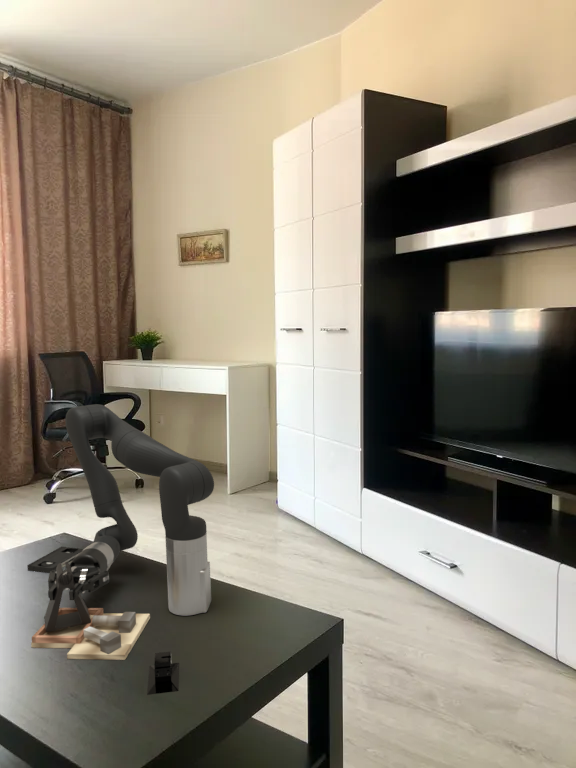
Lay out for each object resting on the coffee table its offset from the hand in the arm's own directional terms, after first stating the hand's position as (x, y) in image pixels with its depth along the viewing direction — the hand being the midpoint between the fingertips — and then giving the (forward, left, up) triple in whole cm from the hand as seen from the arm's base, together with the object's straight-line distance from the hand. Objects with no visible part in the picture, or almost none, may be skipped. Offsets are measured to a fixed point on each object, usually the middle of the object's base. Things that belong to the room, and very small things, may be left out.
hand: (61, 595), depth 128 cm
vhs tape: (+20, -41, -10) cm, 47 cm away
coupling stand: (-5, -1, -9) cm, 11 cm away
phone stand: (0, -3, -7) cm, 8 cm away
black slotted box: (-25, +14, -10) cm, 30 cm away
